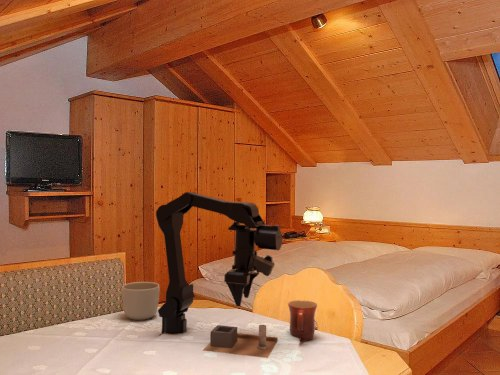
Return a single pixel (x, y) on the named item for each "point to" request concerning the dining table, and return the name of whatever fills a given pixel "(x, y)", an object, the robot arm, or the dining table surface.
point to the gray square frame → (223, 336)
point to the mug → (302, 319)
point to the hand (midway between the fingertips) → (242, 301)
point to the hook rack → (249, 344)
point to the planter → (140, 300)
